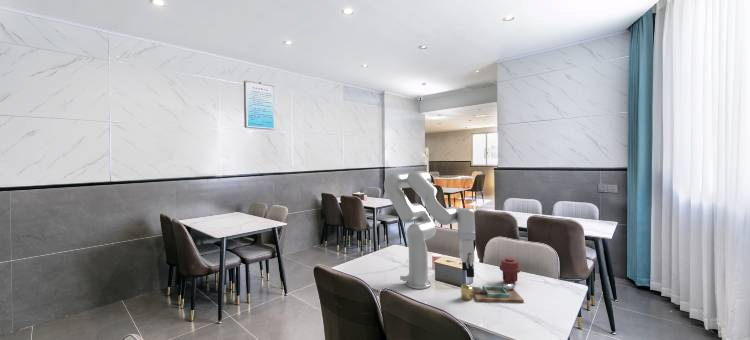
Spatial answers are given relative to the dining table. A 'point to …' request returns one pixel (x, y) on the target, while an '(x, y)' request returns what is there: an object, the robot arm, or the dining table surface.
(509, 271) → the mechanical component
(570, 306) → the dining table surface
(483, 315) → the dining table surface
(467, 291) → the cylinder
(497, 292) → the brown wooden board
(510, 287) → the shaft
